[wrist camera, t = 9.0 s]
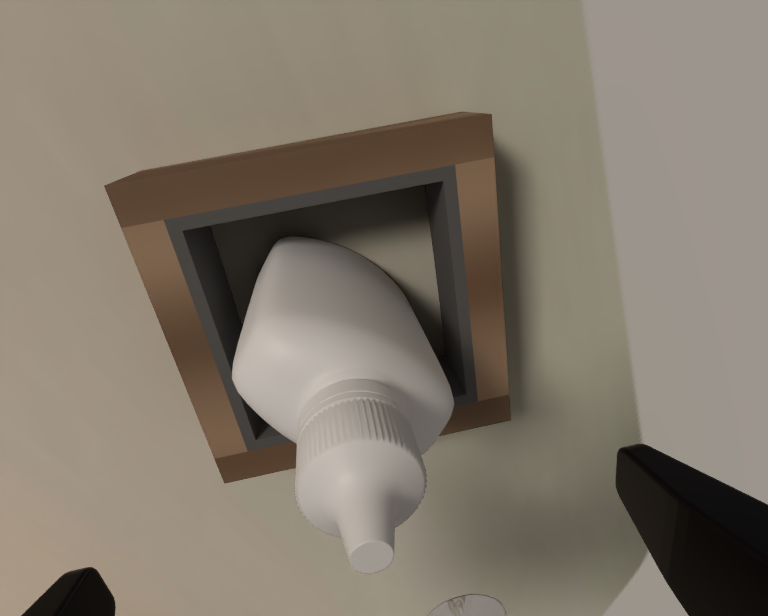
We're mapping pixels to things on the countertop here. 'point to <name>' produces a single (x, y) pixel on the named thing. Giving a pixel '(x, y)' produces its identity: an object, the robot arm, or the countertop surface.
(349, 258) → the eye dropper bottle
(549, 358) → the countertop surface
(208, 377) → the rubber-lined collar
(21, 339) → the countertop surface
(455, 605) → the wineglass
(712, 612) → the robot arm
